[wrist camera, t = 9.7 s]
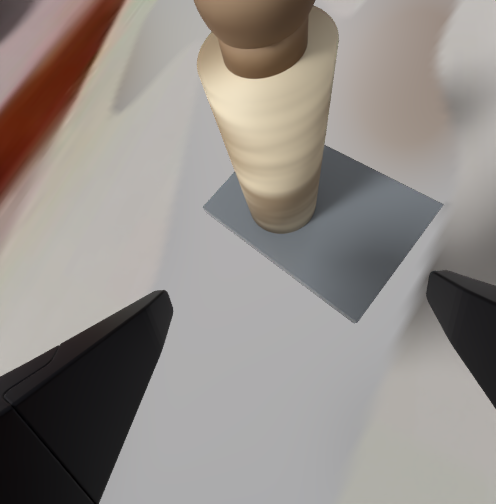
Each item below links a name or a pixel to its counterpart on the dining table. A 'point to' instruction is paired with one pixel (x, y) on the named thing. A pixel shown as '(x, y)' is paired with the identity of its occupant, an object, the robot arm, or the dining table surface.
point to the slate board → (338, 232)
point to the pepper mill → (271, 100)
